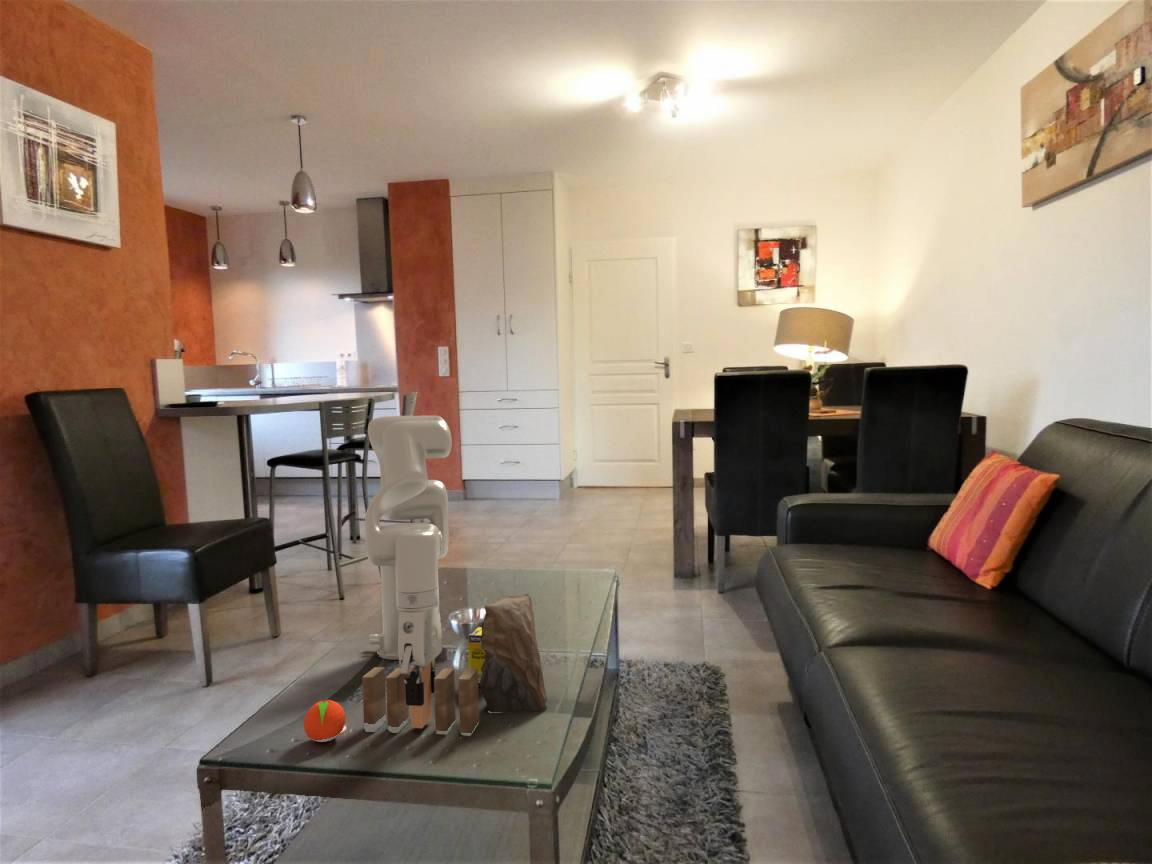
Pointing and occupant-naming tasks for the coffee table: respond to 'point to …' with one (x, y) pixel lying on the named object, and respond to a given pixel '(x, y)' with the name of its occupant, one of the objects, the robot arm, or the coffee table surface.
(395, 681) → the domino
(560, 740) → the coffee table surface
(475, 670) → the domino
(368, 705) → the domino
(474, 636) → the supplement box
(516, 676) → the brown rough lump
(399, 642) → the robot arm
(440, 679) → the domino
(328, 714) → the clementine
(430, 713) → the domino
